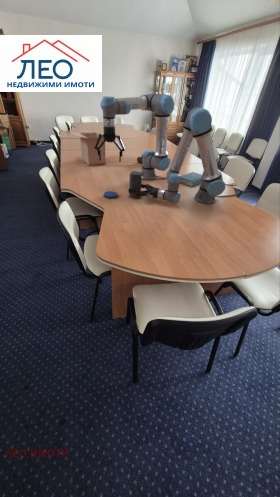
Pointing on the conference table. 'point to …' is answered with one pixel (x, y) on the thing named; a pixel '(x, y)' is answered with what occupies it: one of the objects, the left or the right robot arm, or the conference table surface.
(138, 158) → the laser sight
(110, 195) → the lid
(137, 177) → the jar
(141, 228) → the conference table surface
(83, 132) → the box
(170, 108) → the left robot arm
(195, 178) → the book
